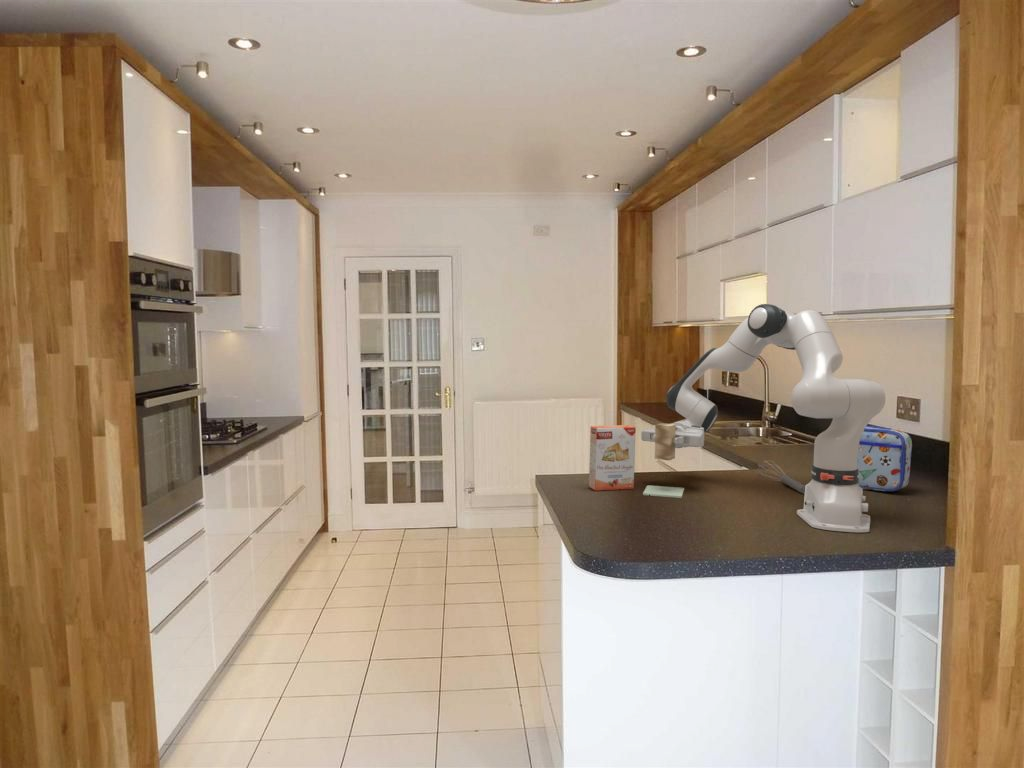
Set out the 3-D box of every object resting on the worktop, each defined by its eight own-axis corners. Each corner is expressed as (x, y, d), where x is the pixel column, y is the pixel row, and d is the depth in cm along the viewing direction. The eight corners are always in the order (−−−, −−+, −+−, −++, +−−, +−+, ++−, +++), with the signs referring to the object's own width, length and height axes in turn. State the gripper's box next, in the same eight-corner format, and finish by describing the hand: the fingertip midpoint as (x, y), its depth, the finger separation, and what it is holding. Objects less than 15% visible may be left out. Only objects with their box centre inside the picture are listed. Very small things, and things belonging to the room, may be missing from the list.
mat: (681, 498, 213) (681, 496, 213) (642, 495, 216) (642, 493, 216) (684, 489, 224) (684, 487, 224) (647, 487, 228) (647, 485, 228)
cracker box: (595, 491, 221) (596, 427, 219) (588, 487, 227) (589, 425, 225) (634, 489, 224) (636, 426, 223) (627, 485, 230) (628, 424, 229)
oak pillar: (675, 457, 221) (675, 424, 220) (669, 460, 216) (670, 426, 215) (660, 456, 223) (661, 423, 222) (654, 458, 219) (655, 424, 218)
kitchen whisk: (800, 497, 216) (801, 477, 216) (753, 475, 250) (754, 458, 249) (819, 496, 217) (819, 477, 216) (769, 475, 250) (770, 458, 250)
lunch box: (814, 482, 236) (817, 419, 235) (827, 478, 243) (829, 417, 242) (902, 496, 216) (905, 428, 215) (912, 491, 223) (916, 425, 222)
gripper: (649, 422, 235) (634, 427, 224) (708, 427, 224) (695, 433, 213) (649, 441, 236) (633, 446, 224) (708, 446, 225) (694, 453, 213)
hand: (664, 440), depth 219 cm, fingers closed on oak pillar, 5 cm apart
